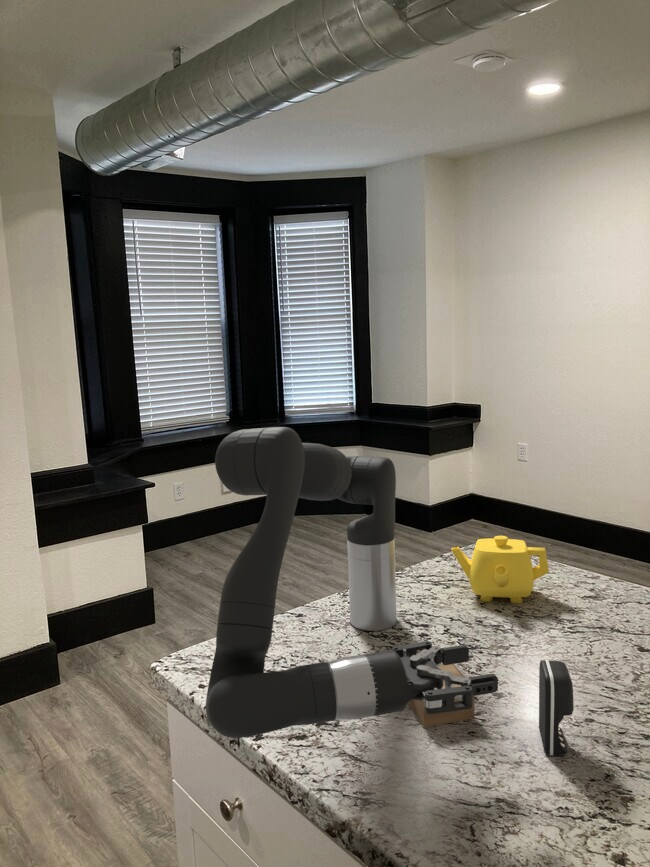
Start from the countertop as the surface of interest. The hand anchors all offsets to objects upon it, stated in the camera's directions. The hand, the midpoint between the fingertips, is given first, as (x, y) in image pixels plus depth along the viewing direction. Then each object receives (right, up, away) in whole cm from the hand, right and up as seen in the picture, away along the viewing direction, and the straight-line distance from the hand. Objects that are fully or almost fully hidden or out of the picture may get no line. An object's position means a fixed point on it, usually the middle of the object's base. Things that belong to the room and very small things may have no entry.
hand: (481, 667), depth 93 cm
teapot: (+16, -4, +56) cm, 58 cm away
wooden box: (-3, -11, +15) cm, 19 cm away
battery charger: (+11, -13, +5) cm, 18 cm away
